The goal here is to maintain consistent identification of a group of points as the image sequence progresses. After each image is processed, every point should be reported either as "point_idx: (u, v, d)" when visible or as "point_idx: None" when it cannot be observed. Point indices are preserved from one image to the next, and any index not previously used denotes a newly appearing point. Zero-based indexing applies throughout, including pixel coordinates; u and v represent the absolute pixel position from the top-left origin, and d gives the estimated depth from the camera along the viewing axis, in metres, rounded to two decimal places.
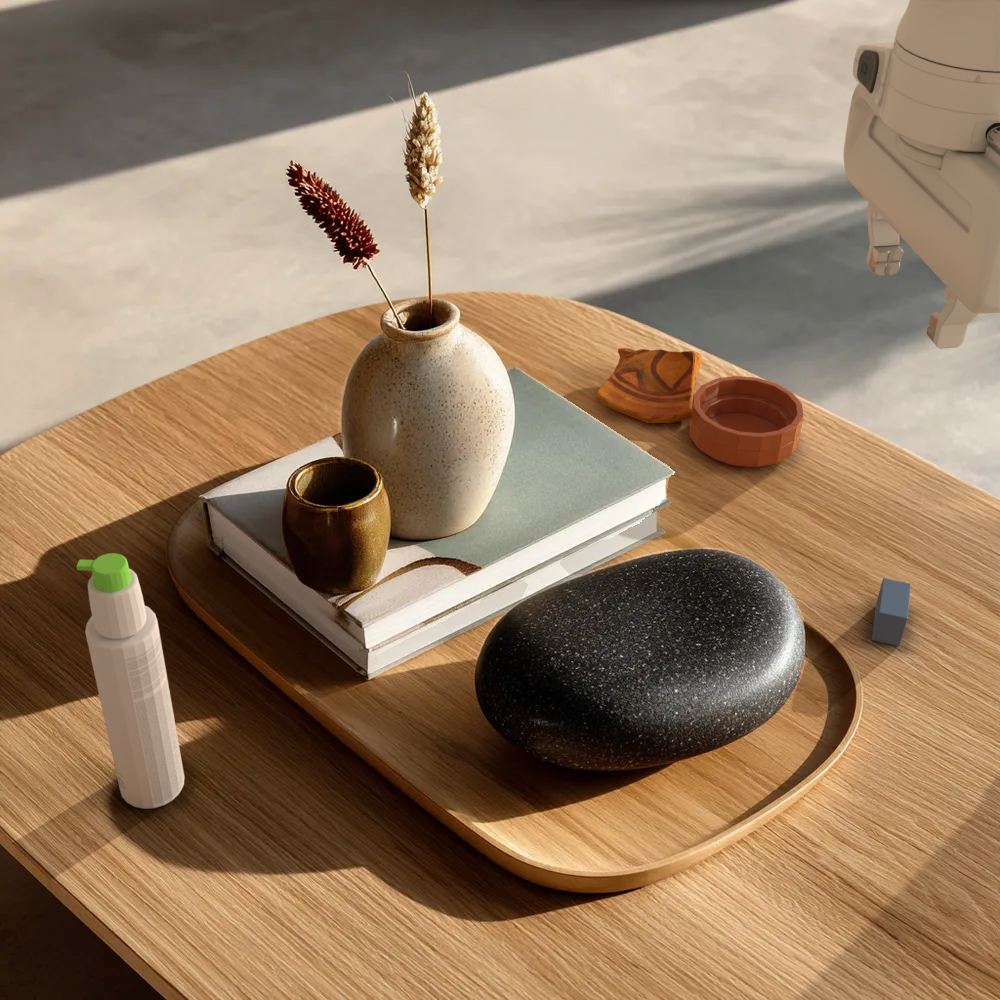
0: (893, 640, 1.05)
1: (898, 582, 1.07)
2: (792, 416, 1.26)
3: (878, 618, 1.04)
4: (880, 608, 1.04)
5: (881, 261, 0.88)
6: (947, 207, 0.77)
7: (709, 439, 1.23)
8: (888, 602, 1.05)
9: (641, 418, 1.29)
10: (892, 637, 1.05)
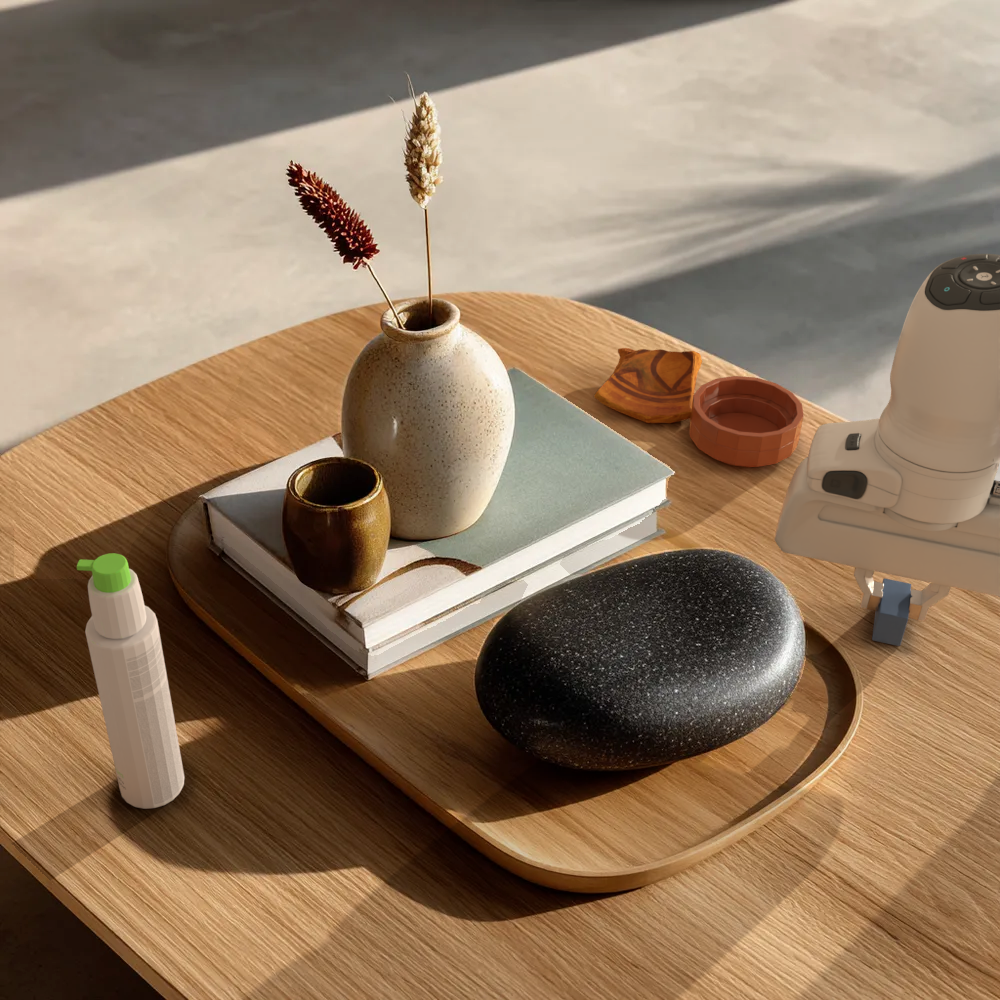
0: (893, 640, 1.05)
1: (899, 583, 1.07)
2: (792, 416, 1.26)
3: (878, 618, 1.04)
4: (880, 608, 1.04)
5: None
6: (968, 547, 0.99)
7: (709, 439, 1.23)
8: (888, 603, 1.05)
9: (641, 418, 1.29)
10: (892, 637, 1.05)
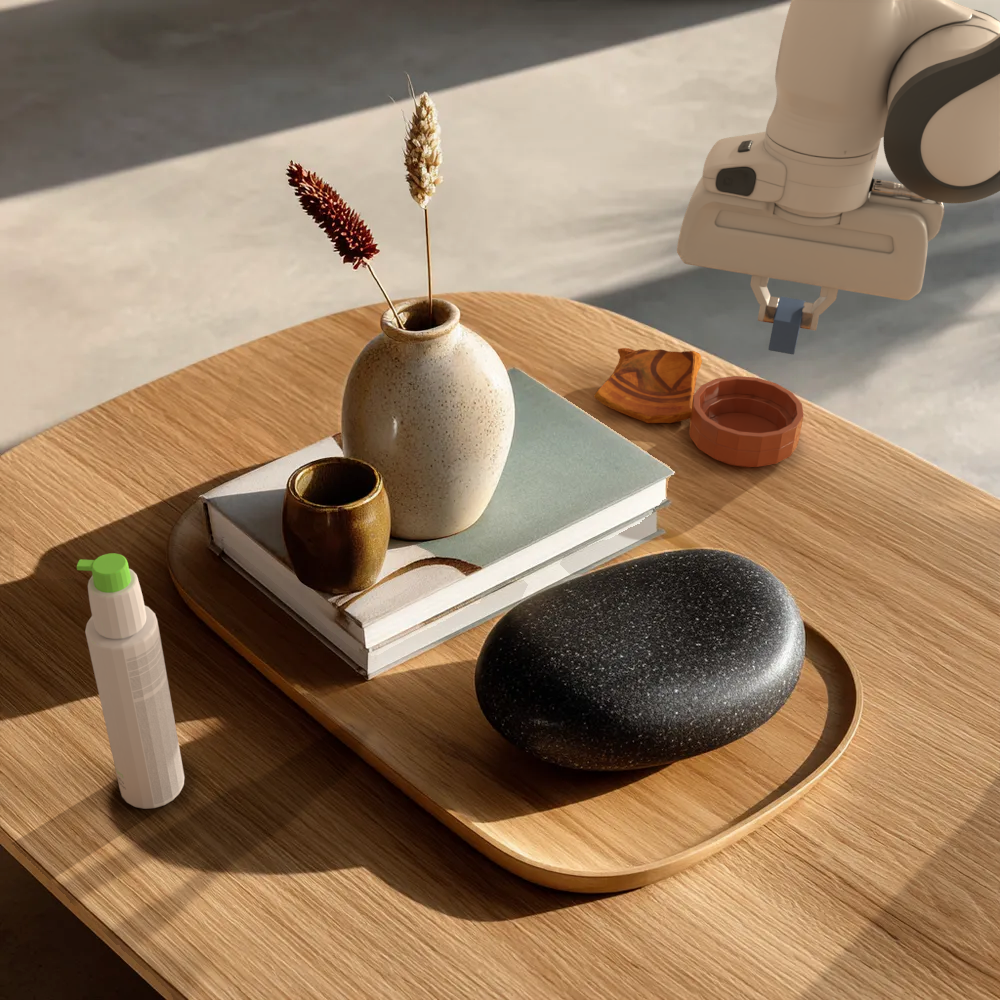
0: (787, 348, 1.13)
1: (794, 299, 1.15)
2: (792, 416, 1.26)
3: (773, 326, 1.13)
4: (775, 317, 1.13)
5: (775, 312, 1.14)
6: (851, 245, 1.07)
7: (709, 439, 1.23)
8: (782, 313, 1.13)
9: (641, 418, 1.29)
10: (786, 345, 1.13)
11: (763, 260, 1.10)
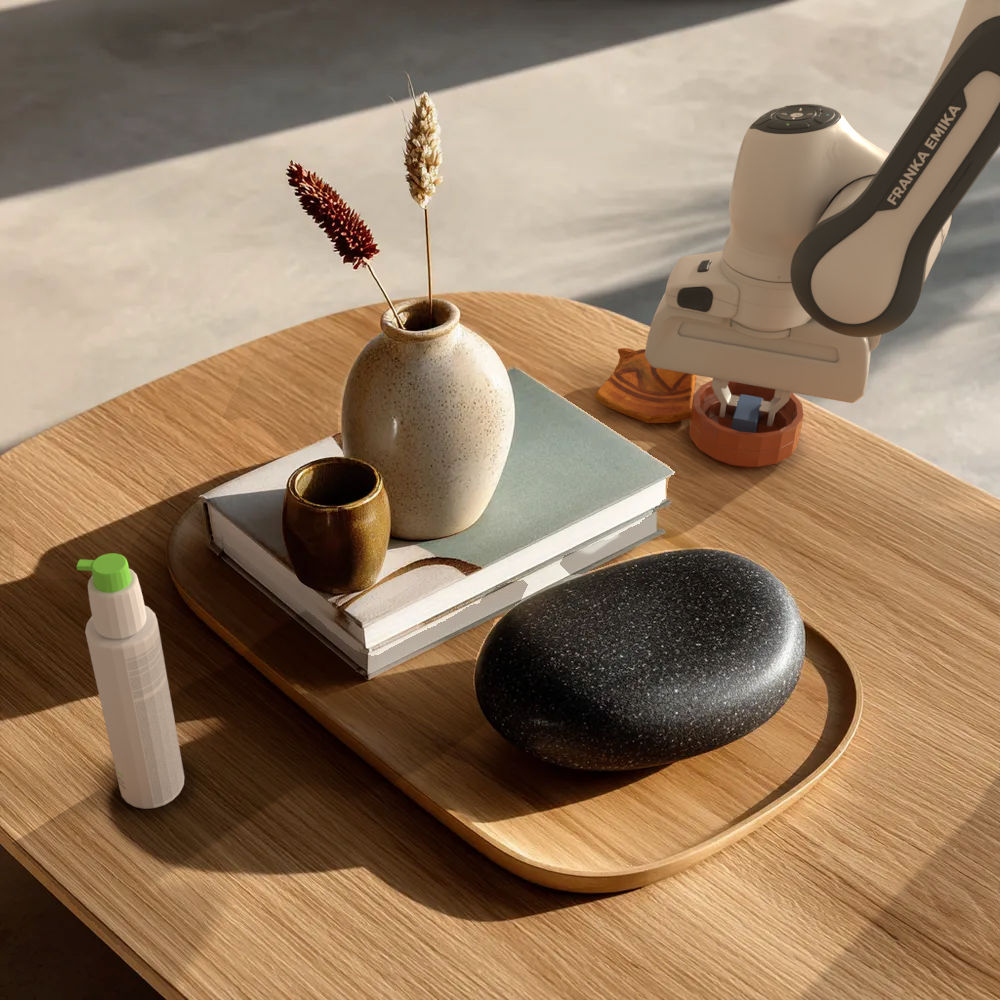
0: None
1: (753, 397, 1.27)
2: (792, 416, 1.26)
3: (733, 423, 1.24)
4: (734, 415, 1.24)
5: (735, 410, 1.25)
6: (801, 354, 1.19)
7: (709, 439, 1.23)
8: (741, 411, 1.25)
9: (641, 418, 1.29)
10: None
11: (722, 366, 1.21)
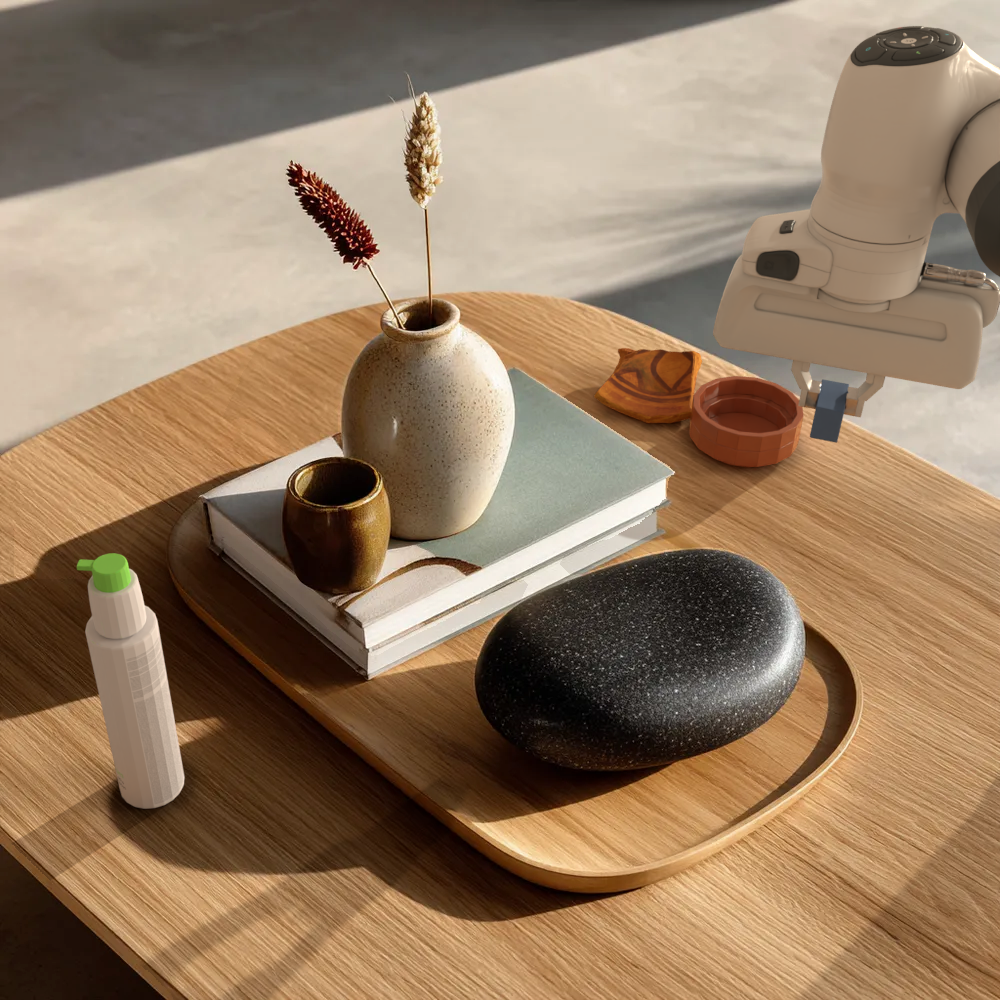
0: (830, 436, 1.07)
1: (837, 383, 1.08)
2: (792, 416, 1.26)
3: (815, 413, 1.06)
4: (817, 403, 1.06)
5: (818, 397, 1.07)
6: (900, 332, 1.01)
7: (709, 439, 1.23)
8: (825, 399, 1.06)
9: (641, 418, 1.29)
10: (829, 433, 1.07)
11: (805, 345, 1.03)
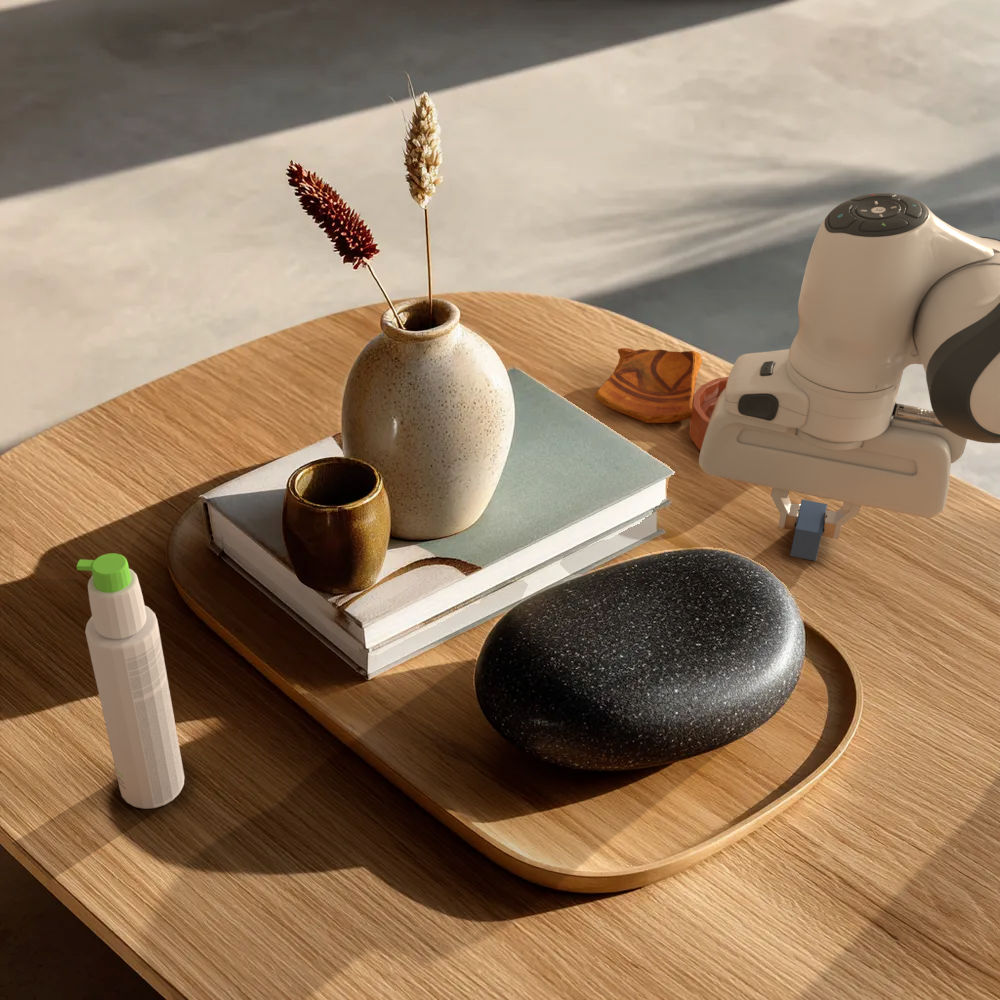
0: (809, 555, 1.13)
1: (816, 503, 1.15)
2: None
3: (795, 534, 1.12)
4: (797, 525, 1.12)
5: (796, 520, 1.14)
6: (874, 466, 1.07)
7: None
8: (804, 520, 1.13)
9: (641, 418, 1.29)
10: (808, 552, 1.13)
11: (785, 476, 1.10)
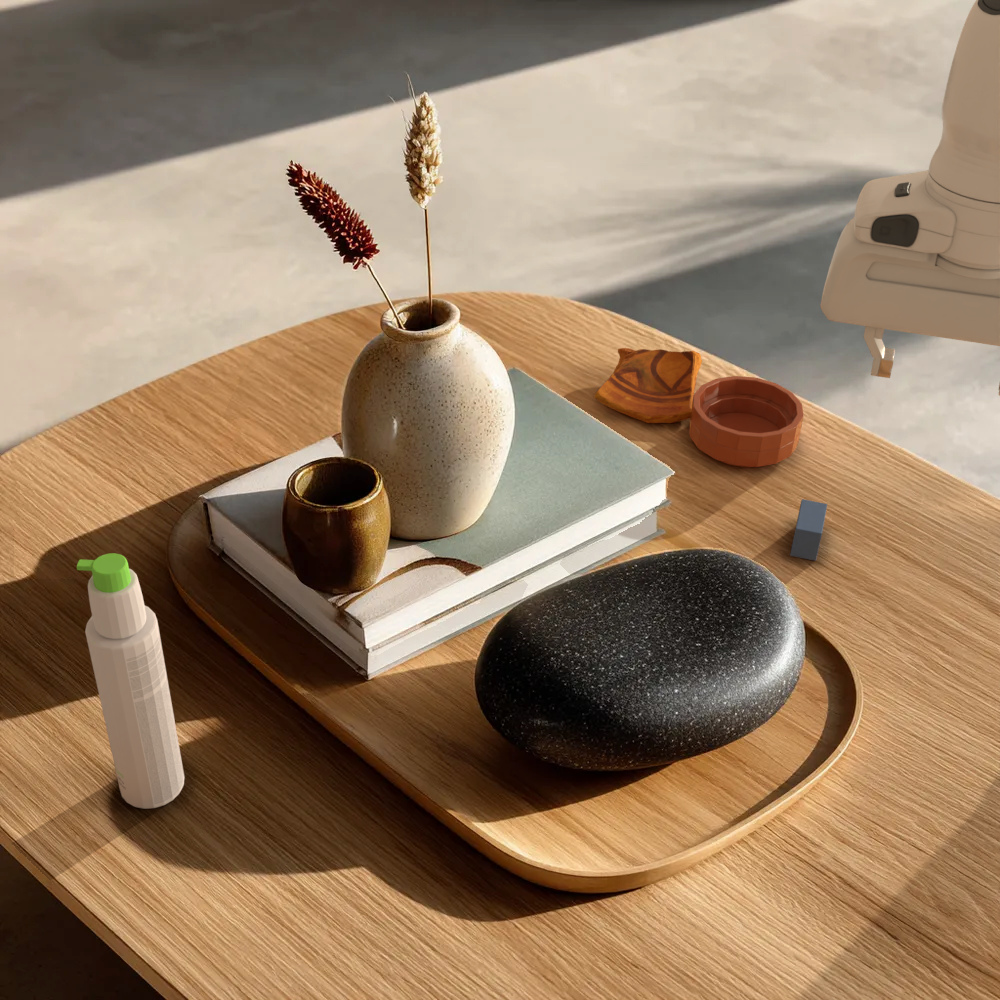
0: (809, 555, 1.13)
1: (816, 503, 1.15)
2: (792, 416, 1.26)
3: (795, 534, 1.12)
4: (797, 525, 1.12)
5: None
6: None
7: (709, 439, 1.23)
8: (804, 520, 1.13)
9: (641, 418, 1.29)
10: (808, 552, 1.13)
11: (921, 316, 0.97)
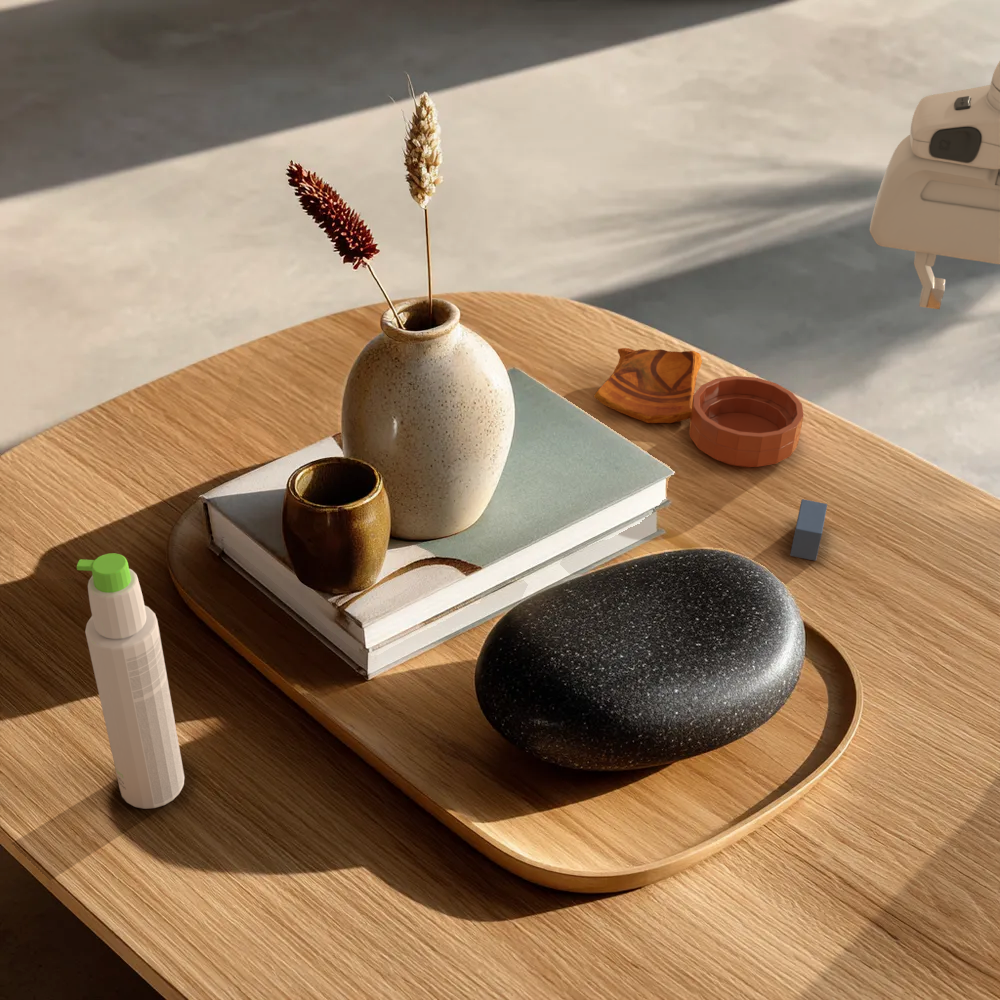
0: (809, 555, 1.13)
1: (816, 503, 1.15)
2: (792, 416, 1.26)
3: (795, 534, 1.12)
4: (797, 525, 1.12)
5: None
6: None
7: (709, 439, 1.23)
8: (804, 520, 1.13)
9: (641, 418, 1.29)
10: (808, 552, 1.13)
11: (977, 240, 0.92)
